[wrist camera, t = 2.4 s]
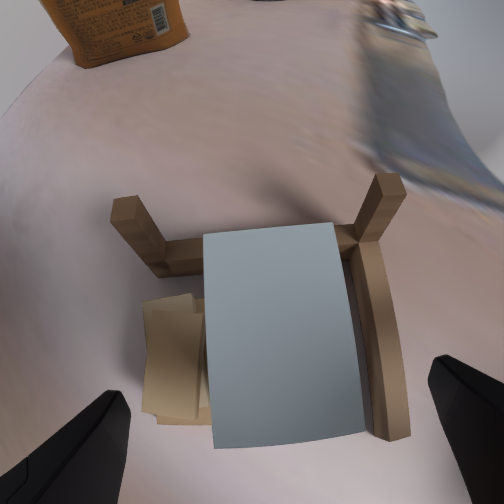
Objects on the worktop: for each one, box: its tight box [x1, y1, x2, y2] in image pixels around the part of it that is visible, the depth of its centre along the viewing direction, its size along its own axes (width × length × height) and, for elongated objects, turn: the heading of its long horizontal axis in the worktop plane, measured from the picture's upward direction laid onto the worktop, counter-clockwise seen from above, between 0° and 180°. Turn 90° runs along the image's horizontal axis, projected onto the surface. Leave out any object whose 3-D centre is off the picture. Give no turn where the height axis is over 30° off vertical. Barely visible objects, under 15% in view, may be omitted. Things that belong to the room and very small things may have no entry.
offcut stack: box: [141, 293, 212, 425], centre depth 16 cm, size 7×4×3 cm, turn 5°
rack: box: [110, 173, 411, 442], centre depth 14 cm, size 12×13×7 cm
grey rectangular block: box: [203, 222, 365, 449], centre depth 12 cm, size 5×3×11 cm, turn 5°
